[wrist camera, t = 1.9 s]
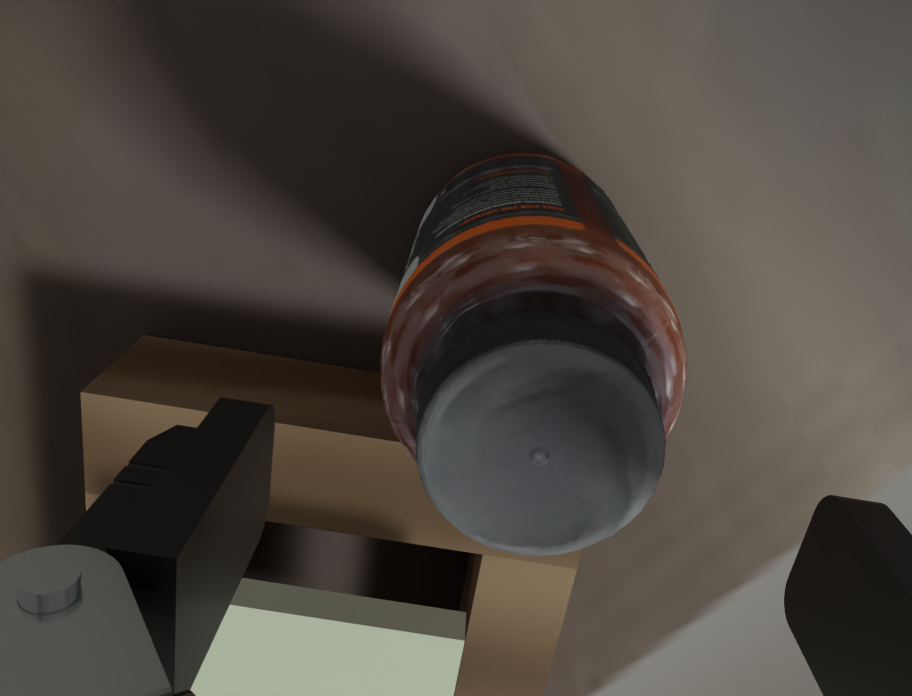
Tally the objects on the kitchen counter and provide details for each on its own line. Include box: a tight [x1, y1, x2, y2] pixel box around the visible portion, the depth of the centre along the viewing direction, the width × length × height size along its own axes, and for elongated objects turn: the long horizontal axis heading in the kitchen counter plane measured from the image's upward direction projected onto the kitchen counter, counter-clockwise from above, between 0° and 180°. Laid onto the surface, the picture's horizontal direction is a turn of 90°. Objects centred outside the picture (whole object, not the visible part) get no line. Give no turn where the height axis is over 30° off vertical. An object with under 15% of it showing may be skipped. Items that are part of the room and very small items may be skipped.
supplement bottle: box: [380, 153, 687, 556], centre depth 17 cm, size 6×6×11 cm
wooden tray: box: [80, 335, 583, 696], centre depth 25 cm, size 15×14×4 cm
